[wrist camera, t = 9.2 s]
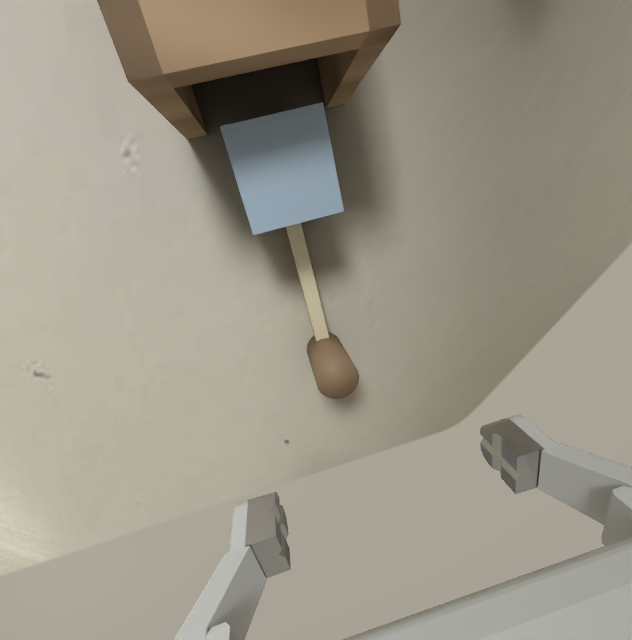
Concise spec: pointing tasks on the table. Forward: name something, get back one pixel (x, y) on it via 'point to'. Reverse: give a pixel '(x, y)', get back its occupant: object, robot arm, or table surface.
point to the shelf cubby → (242, 45)
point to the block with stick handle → (294, 210)
